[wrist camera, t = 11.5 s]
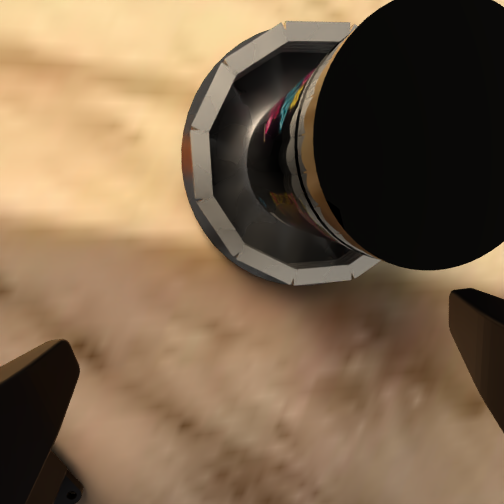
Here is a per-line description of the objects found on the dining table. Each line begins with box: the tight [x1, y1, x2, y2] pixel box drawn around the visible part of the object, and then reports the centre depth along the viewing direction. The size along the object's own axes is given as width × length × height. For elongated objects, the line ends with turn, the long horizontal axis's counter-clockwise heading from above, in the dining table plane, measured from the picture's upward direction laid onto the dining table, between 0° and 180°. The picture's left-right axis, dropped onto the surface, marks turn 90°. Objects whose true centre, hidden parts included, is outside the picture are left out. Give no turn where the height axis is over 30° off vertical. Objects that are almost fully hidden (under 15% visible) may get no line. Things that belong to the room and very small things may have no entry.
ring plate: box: [181, 21, 381, 286], centre depth 19 cm, size 13×13×2 cm
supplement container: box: [247, 0, 504, 270], centre depth 14 cm, size 7×7×10 cm
